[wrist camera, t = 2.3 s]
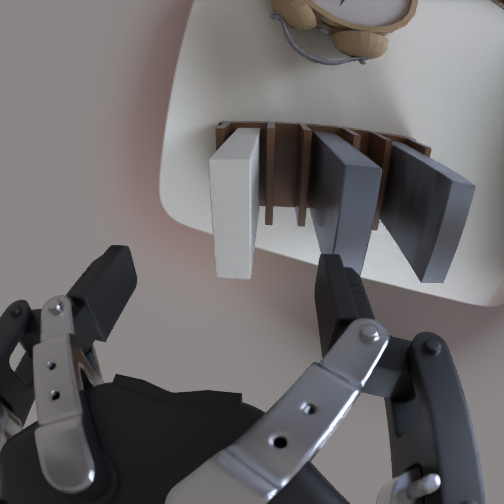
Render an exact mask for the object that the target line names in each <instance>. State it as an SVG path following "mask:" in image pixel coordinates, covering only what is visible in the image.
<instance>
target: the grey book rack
mask: <svg viewBox="0 0 504 504" xmlns="http://www.w3.org/2000/svg"><path fill="white" fill-rule="evenodd" d="M238 128H261V172H260V206H266V211H265V225H272V223H273V206H278V207H295V211H296V218H297V224H298V226H305V219H306V208H309V209H310V213H311V216H312V220H313V224H314V228H315V231H316V235H317V239H318V243H319V247H320V251H321V254H339V255H340V257H341V260H342V263H343V266H344V267H352V268H353V269H354V270H355V271H356V272H357V273H358V274H359V275H361V271H362V267H363V263H364V259H365V255H366V251H367V247H368V243H369V238H370V234H371V230H377V228H378V224H379V219H380V220H381V221H382V223H383V224H384V226H385V227H386V228H387V230H388V231H389V233H390V234H391V236H392V237H393V239H394V240H395V242H396V243H397V245H398V246H399V248H400V249H401V251H402V253H403V254H404V256H405V257H406V259H407V260H408V262H409V264H410V265H411V267H412V268H413V270H414V272H415V273H416V275H417V277H418V278H419V280H420V282H421V283H443V282H444V280H445V277H446V275H447V273H448V270H449V268H450V265H451V262H452V260H453V257H454V255H455V252H456V249H457V246H458V244H459V241H460V238H461V235H462V232H463V229H464V226H465V222H466V219H467V216H468V212H469V209H470V205H471V202H472V198H473V194H474V190H475V185H474V184H472V183H471V182H469V181H468V180H466V179H465V178H463V177H462V176H460V175H458V174H457V173H455V172H454V171H452V170H450V169H449V168H447V167H445V166H444V165H442V164H440V163H439V162H437V161H435V160H433V159H432V158H430V154H431V148H430V147H428V146H426V145H424V144H421V143H419V142H417V141H416V140H415V139H413V138H410V137H405V136H400V135H394V134H389V133H383V132H377V131H370V130H363V129H356V128H348V127H339V126H330V125H319V124H306V123H290V122H262V121H230V122H220V123H219V127H217V128H216V151H217V150H218V149H219V148H220V147H221V146H222V144H223V143H224V142H225V141H226V140H227V139H228V138H229V137H230V136H231V135H232V134H233V133H234V132H235V131H236V130H237V129H238Z"/></svg>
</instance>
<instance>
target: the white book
mask: <svg viewBox="0 0 504 504" xmlns="http://www.w3.org/2000/svg"><path fill="white" fill-rule="evenodd" d="M260 172H261V128H238V129H237V130H236V131H235V132H234V133H233V134H232V135H231V136H230V137H229V138H228V139H227V140H226V141H225V142H224V143H223V144H222V146H221V147H220V148H219V149H218V150H217V151H216V152H215V153H214V154H213V155H212V156H211V158H210V159H209V177H210V194H211V210H212V224H213V238H214V250H215V262H216V274H217V278H234V279H251V272H252V264H253V255H254V247H255V239H256V231H257V223H258V214H259V206H260Z"/></svg>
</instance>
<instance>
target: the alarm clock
mask: <svg viewBox="0 0 504 504" xmlns="http://www.w3.org/2000/svg"><path fill="white" fill-rule="evenodd" d="M417 2H418V1H417V0H271V5H272V8H273V10H274V14H272V16H271V18H272V19H274V20H276V19H278V20H279V21H280V23H281V24H282V25H283V30H284V34H285V37H286V39H287V41H288V43H289V44H290V45H291V47H292V48H293V49H294V50H295V51H297V52H298V53H299V54H300V55H302V56H303V57H305V58H307V59H308V60H311V61H314V62H316V63H320V64H324V65H338V64H342V63H345V62H350V61H356V60H359V62H360V63H361V64H365V63H366V60H368V59H373V58H377V57H380V56H381V55H382V54H384V53H385V52H386V50H387V47H388V40H387V39H386V38H385V37H384V36H385V35H387V34H389V33H391V32H393V31H394V30H397V29H399V28H401V27H403V26H405V25H407V24H408V22H409V21H410V20H411V19H412V17H413V16H414V15H415V12H416V7H417ZM286 25H288V26H289V27H291V28H293V29H296V30H302V31H306V30H310V29H313V28H315V27H316V26H318V27H320V31H321V32H323V33H325V34H328V33H329V32H330V33H333V35H332V41H333V44H334V46H335V47H336V48H337V49H338V50H339V51H340V52H341V53H343V54H345V55H347V56H349V57H353V58H348V59H345V60H339V61H329V60H325V59H321V58H318V57H316V56H313V55H311V54H309V53H308V52H306V51H304V50H303V49H302V48H300V47H299V46H298V45H297V44H296V43H295V42H294V41H293V39H292V38H291V36H290V34H289V32H288V29H287V26H286Z"/></svg>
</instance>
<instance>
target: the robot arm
mask: <svg viewBox="0 0 504 504" xmlns="http://www.w3.org/2000/svg"><path fill="white" fill-rule="evenodd" d="M136 284H137V275H136V272H135V267H134V263H133V260H132V256H131V252H130V249H129V247H128V246H122V245H111V246H110V247H109V248H108V249H107V250H106V252H105V253H104V254H103V255H102V256H100V257H99V258H98V259H96V260H95V261H93V262H92V263H91V264H90V266H89V267H88V268H87V270H86V271H85V272H84V273H83V274H82V277H80V278H79V279H78V280H77V282H76V283H75V284H74V285H73V287H72V288H71V289H70V291H69V292H68V293H67V294H66V296H64V295H60V296H56V297H53V298H51V299H50V300H48V301H47V302H46V303H45V304H44V305H43V307H42V309H35V310H31V308H30V307H29V304H28V303H27V301H25V300H18V301H16V302H14V303H12V304H11V305H10V306H9V307H8V308H7V309H6V310H5V312H4V313H3V314H2V316H1V317H0V504H350V503H349V502H348V501H347V500H346V499H345V498H344V497H343V496H342V495H341V494H340V493H339V492H338V491H337V490H336V489H335V488H334V487H333V486H332V485H331V484H330V482H328V481H327V479H326V478H325V477H324V476H323V475H322V474H321V473H320V472H319V471H318V470H317V468H315V466H314V465H313V464H312V463H311V461H312V459H313V458H314V457H315V456H316V454H317V453H318V452H319V451H320V450H321V448H322V447H323V446H324V445H325V443H326V442H327V441H328V439H329V438H330V437H331V435H332V434H333V433H334V431H335V430H336V428H337V427H338V425H339V424H340V423H341V421H342V420H343V419H344V417H345V416H346V414H347V413H348V411H349V410H350V408H351V407H352V406H353V404H354V403H355V401H356V400H357V398H358V396H359V395H360V393H361V392H363V393H368V394H372V395H377V396H382V397H384V399H385V406H386V414H387V420H388V430H389V439H390V449H391V462H392V477H393V479H392V480H390V481H389V482H387V483H386V484H385V485H384V486H383V487H382V488H381V490H380V491H379V493H378V496H377V502H376V504H485V494H484V485H483V476H482V470H481V463H480V457H479V452H478V447H477V442H476V437H475V433H474V428H473V424H472V420H471V416H470V413H469V409H468V405H467V402H466V398H465V395H464V392H463V389H462V385H461V382H460V379H459V376H458V373H457V370H456V367H455V365H454V362H453V359H452V357H451V354H450V351H449V348H448V346H447V344H446V342H445V341H444V340H443V339H442V338H441V337H440V336H438V335H436V334H434V333H431V332H422V333H419V334H417V335H416V336H415V337H414V339H413V341H408V340H404V339H400V338H395V337H392V336H390V335H389V333H388V330H387V329H386V327H385V326H384V325H383V324H381V323H380V322H378V321H376V320H375V318H374V315H373V312H372V309H371V306H370V304H369V300H368V298H367V295H366V294H365V289H364V286H363V283H362V281H361V278H360V275H359V274H358V273H357V272H356V271H355V270H354V269H353V268H352V267H344V266H343V263H342V260H341V257H340V255H339V254H321V255H320V258H319V264H318V271H317V277H316V283H315V305H316V312H317V319H318V326H319V334H320V343H321V350H322V360H321V362H319V363H317V362H314V363H313V364H311V365H310V366H309V367H308V368H307V370H306V371H305V372H304V373H303V374H302V375H301V376H300V377H299V379H298V380H297V381H296V382H295V383H294V384H293V385H292V386H291V387H290V388H289V390H287V392H286V393H285V394H284V395H283V396H282V397H281V398H280V399H279V400H278V401H277V402H276V403H275V404H274V405H273V406H272V407H271V408H270V409H269V410H268V411H267V412H266V413H265V412H263V411H261V410H260V409H258V408H256V407H254V406H251V405H249V404H246V403H243V402H242V393H232V392H221V391H211V390H205V391H204V390H203V391H192V392H179V393H172V392H169V391H166V390H164V389H162V388H160V387H157V386H155V385H153V384H151V383H149V382H146V381H145V380H142V379H136V378H132V377H127V376H123V375H119V374H116V375H115V378H114V380H113V382H110V383H104V381H103V378H102V374H101V371H100V367H99V363H98V359H97V355H96V351H95V347H94V346H93V342H94V341H95V340H98V341H103V342H106V340H107V338H108V336H109V334H110V333H111V330H112V329H113V327H114V325H115V323H116V321H117V320H118V318H119V316H120V314H121V312H122V311H123V309H124V307H125V305H126V304H127V302H128V300H129V298H130V297H131V295H132V293H133V292H134V290H135V288H136ZM18 342H20V344H21V345H22V347H23V348H24V350H25V351H26V352H25V354H24V356H23V357H22V359H21V361H20V363H19V365H18V367H17V368H16V370H15V372H14V371H13V370H12V369H11V367H10V364H9V359H10V356H11V354H12V352H13V351H14V349H15V347H16V346H17V344H18ZM34 399H35V400H36V409H37V417H38V421H36V422H34V423H33V424H31V425H30V426H28V427H26V428H25V429H23V426H24V424H25V421H26V419H27V416H28V413H29V411H30V409H31V406H32V404H33V402H34Z"/></svg>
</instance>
